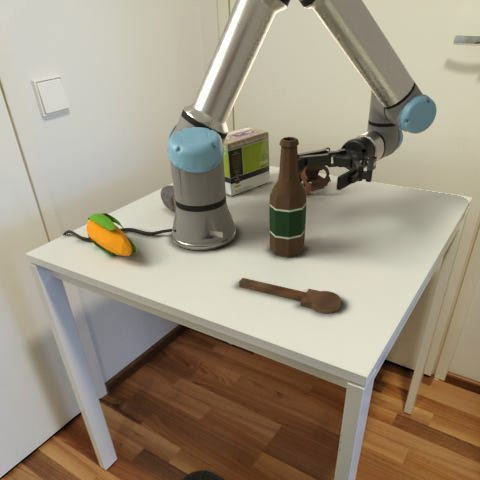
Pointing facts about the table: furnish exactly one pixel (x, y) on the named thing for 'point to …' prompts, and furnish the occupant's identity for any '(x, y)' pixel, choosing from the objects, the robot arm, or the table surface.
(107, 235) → the corn
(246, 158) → the tea box
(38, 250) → the table surface
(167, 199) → the perforated stone tool
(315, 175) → the brown rounded hollow piece
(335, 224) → the table surface
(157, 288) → the table surface
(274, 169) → the table surface
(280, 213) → the beer bottle
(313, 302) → the wooden spoon
